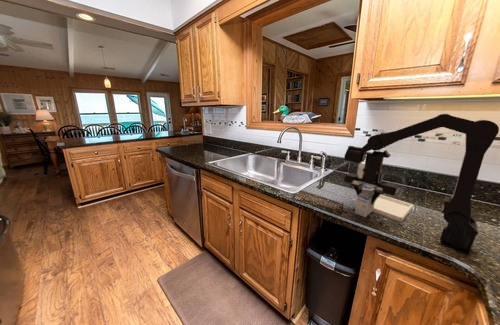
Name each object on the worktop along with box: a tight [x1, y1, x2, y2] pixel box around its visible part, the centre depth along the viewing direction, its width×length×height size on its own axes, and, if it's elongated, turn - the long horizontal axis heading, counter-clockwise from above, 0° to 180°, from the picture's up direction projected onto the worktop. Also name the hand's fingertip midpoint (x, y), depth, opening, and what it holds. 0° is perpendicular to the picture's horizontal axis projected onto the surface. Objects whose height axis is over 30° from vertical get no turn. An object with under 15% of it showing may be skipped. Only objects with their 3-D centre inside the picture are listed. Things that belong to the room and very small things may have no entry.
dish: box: [371, 194, 414, 223], centre depth 85 cm, size 14×18×2 cm
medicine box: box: [354, 190, 375, 218], centre depth 80 cm, size 8×4×9 cm, turn 130°
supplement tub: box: [356, 160, 376, 191], centre depth 106 cm, size 10×10×15 cm
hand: (365, 202), depth 80 cm, fingers closed on medicine box, 4 cm apart
